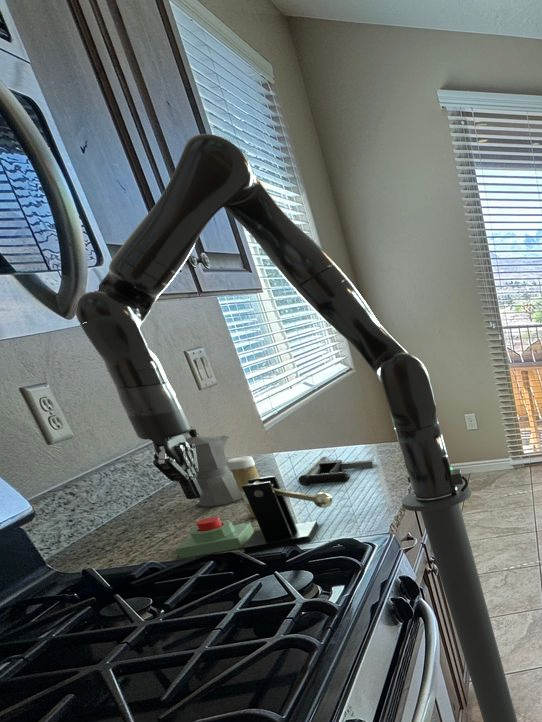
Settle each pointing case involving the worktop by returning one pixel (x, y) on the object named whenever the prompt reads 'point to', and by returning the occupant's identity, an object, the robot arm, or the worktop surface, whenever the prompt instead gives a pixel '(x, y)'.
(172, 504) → the worktop surface
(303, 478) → the black handled frame
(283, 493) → the switch lever
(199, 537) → the button box
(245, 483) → the sprinkles bottle
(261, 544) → the switch bracket
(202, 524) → the red button
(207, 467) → the coffeepot
